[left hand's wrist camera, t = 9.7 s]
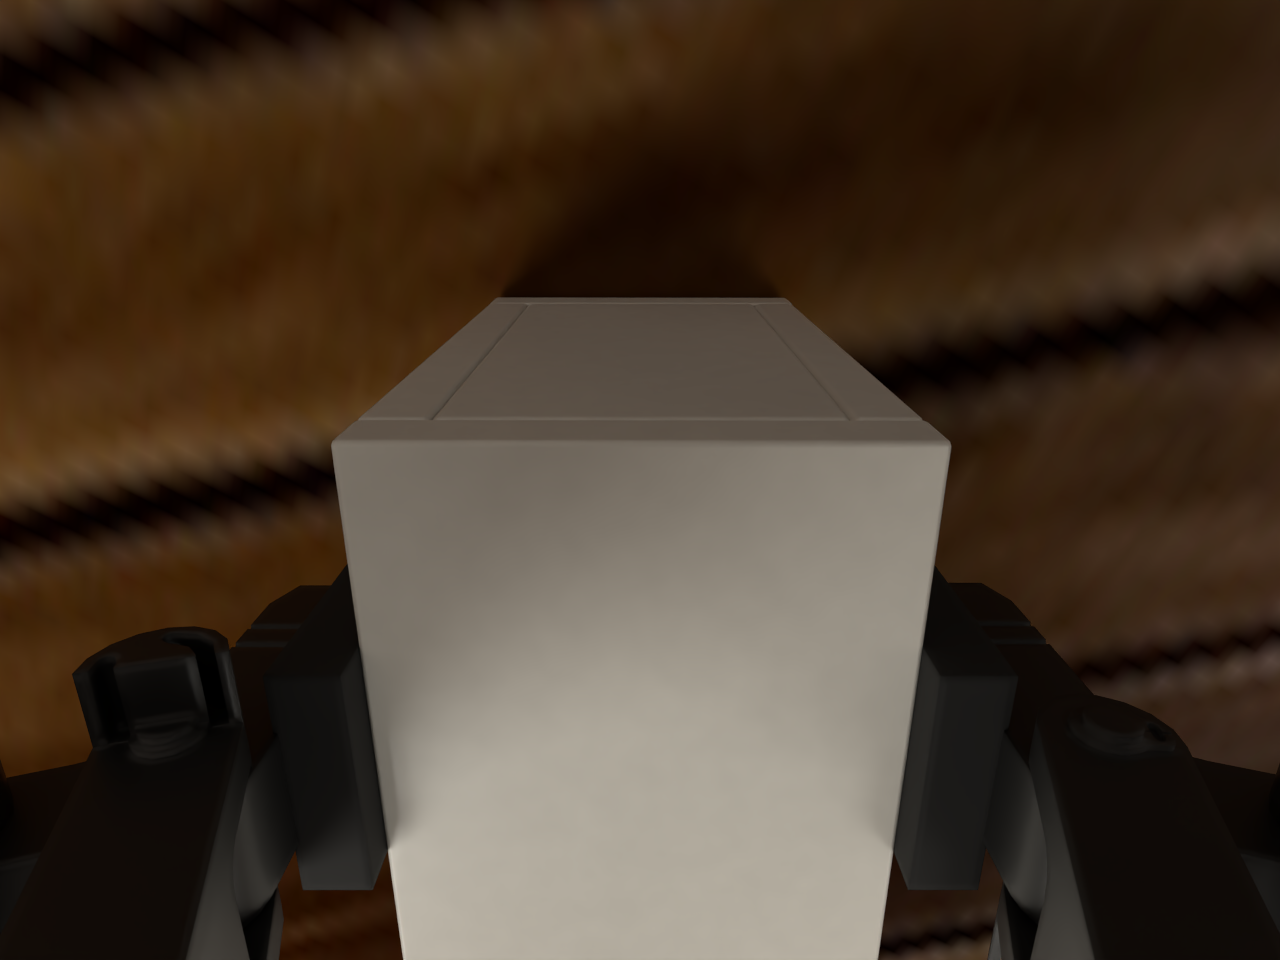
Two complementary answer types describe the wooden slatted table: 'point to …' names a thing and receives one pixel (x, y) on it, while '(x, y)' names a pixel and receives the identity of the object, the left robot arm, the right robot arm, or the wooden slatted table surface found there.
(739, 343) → the cabinet
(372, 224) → the wooden slatted table surface
